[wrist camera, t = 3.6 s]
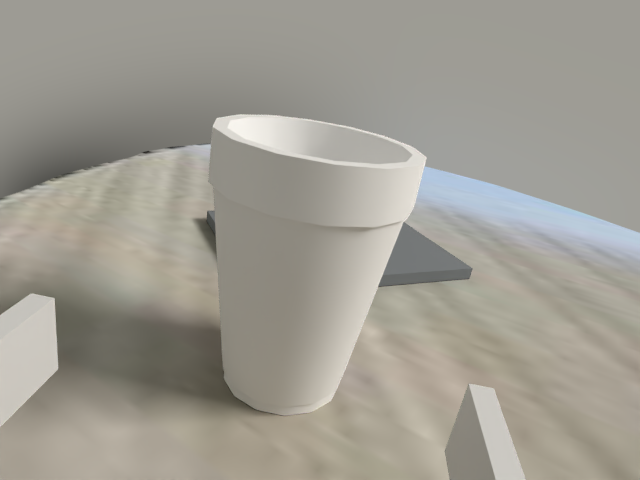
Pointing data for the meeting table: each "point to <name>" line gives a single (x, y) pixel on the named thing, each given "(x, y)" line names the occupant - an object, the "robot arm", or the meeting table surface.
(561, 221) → the meeting table surface
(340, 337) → the foam cup
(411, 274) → the rubber mat
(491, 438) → the robot arm
